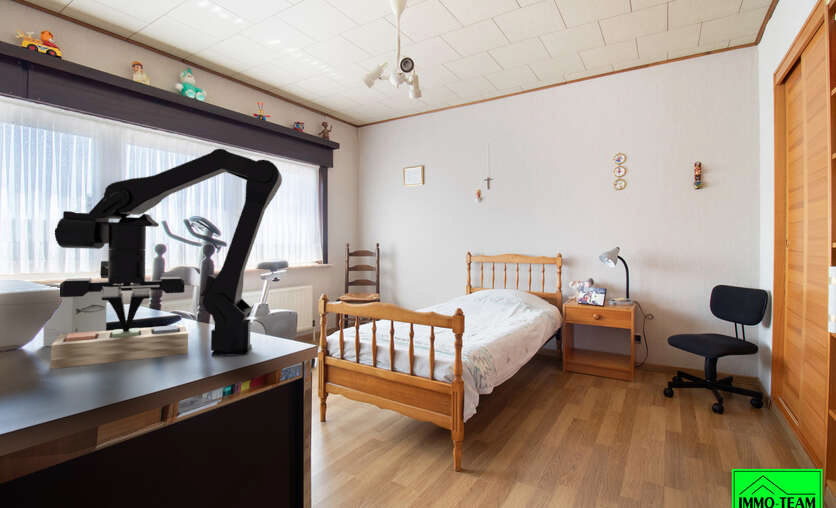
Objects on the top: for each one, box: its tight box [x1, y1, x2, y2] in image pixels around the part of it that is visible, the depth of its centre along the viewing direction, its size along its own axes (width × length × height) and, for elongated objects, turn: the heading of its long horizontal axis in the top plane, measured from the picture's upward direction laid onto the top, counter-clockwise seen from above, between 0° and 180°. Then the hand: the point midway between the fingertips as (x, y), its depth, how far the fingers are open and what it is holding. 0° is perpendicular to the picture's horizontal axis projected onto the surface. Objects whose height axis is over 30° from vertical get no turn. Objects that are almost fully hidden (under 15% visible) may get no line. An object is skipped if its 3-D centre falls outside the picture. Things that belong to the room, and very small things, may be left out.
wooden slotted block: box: [50, 324, 189, 370], centre depth 77 cm, size 20×9×4 cm, turn 125°
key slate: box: [152, 325, 178, 334], centre depth 80 cm, size 4×4×2 cm
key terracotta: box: [66, 331, 97, 341], centre depth 73 cm, size 4×4×2 cm
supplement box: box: [42, 282, 108, 347], centre depth 83 cm, size 7×7×13 cm
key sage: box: [112, 327, 140, 338], centre depth 77 cm, size 4×4×2 cm
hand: (126, 331), depth 77 cm, fingers closed, pressing on key sage
